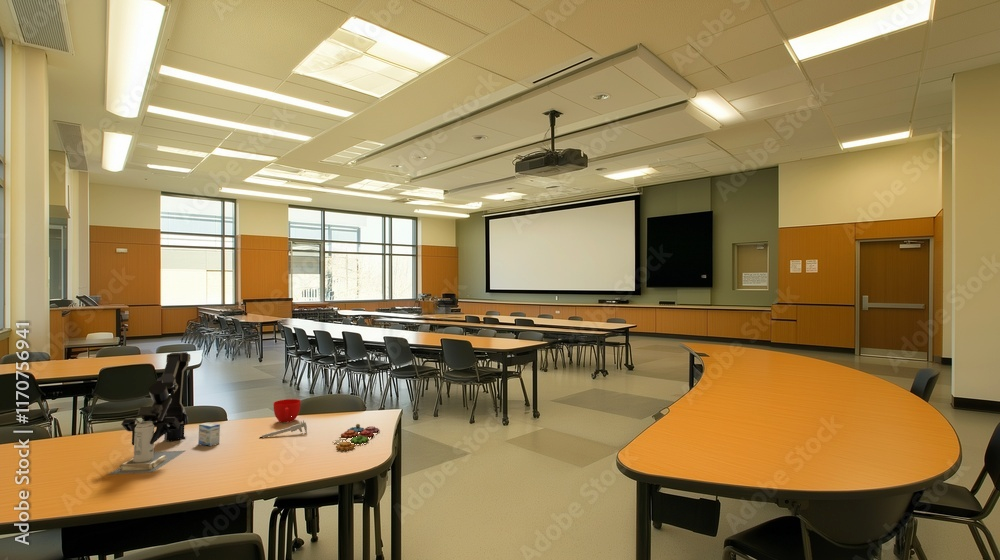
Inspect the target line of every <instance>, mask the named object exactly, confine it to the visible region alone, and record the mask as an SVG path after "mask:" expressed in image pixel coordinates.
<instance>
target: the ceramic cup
mask: <svg viewBox="0 0 1000 560" xmlns="http://www.w3.org/2000/svg"><path fill="white" fill-rule="evenodd" d="M301 403H302V401H301V400H300V399H297V398H291V399H289V398H288V399H287V398H285V399H280V400H275V401H274V402H273V404H272V405H273V412H274V413H273V414H274V416H275V418H276V419H277V420H278V422H280V423H281V422H288V423H292V422H294V421H295V420H296V418H297V417H298V416H299V414H300V410H301ZM291 416H292V417H291Z"/></svg>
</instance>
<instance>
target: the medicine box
mask: <svg viewBox="0 0 1000 560" xmlns="http://www.w3.org/2000/svg"><path fill="white" fill-rule="evenodd" d="M220 435H221V424H219V423H213V422H204V423H201V424H198V445H200V444H202V445H201V446H206V445H208V447H212V445H213V446H216V445H219V444H220V441H221V440H220V439H221V438H220V437H221V436H220ZM215 444H216V445H215Z"/></svg>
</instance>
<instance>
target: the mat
mask: <svg viewBox="0 0 1000 560" xmlns="http://www.w3.org/2000/svg"><path fill="white" fill-rule="evenodd" d="M186 451H187V450H170V451H169V450H168V451H165V450H163V451H154V452H153V459H152V460H151V461H150V462H148V463H152V462H153V461H155V460H156V459H158V458H160V457H161V456H164V455H166V461H164V462H162V463H161V464H159V465H158V466H156V467H155V468H153V469H143V470H123V471H120V467H118V468H117V469H114V470H113V471H111V472H109V473H108V474H107V475H109V476H110V475H125V474H126V475H127V474H146V473H151V474H152V473H154V472H156V471H157V470H159V469H161V468H162V467H163V466H164V465H166V464H168V463H169V462H171V461H172V460H174V459H176V458H177V457H179V456H180V455H181V454H184V453H185V452H186ZM135 464H136V463H135Z"/></svg>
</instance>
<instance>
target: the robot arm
mask: <svg viewBox="0 0 1000 560" xmlns="http://www.w3.org/2000/svg"><path fill="white" fill-rule="evenodd" d="M190 361H191V354H190V353H188V352H187V351H182V352H181V351H178V352H171V353H168V354H166V362H165V363H166V364H165V367H164V371H163V373H162V375H161V376H160V377H158V378H157V379H156V382H155V383H153V384H151V385H150V386H149V387H148V392H149V395H150V398H151V400H152V404H151V405H150V406H140V407H139V409H138V413H137V416H141V417H140V418H141V419H142V420H141V421H140V420H138V419H137V418H135V417H128V418H124V419H123V420H122V421H121V426H122V427H123V428H124V429H125V431H127V432H131V433H132V435H131V445H132V446H134V436H135V427H136V426H137V423H139V422H143V421H152V423H153V424H154V427H156V428H155V430H154V435H153V437H152V439H151V442H150V444H153V443H154V444H155V443H156V442H157V441H158V440H160V438H162V437H163V436H164V439H163V440H164V441H167V442H169V443H170V442H175V441H180V440H183V439H186V438H187V437H186V436H185V426H186V425H189V417H188V414H187V411H186V408H185V406H184V405H183V403H182V400H183V387H184V386H183V385H184V373H185V371H186V369H187V368H188V367H189V364H190Z"/></svg>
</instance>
